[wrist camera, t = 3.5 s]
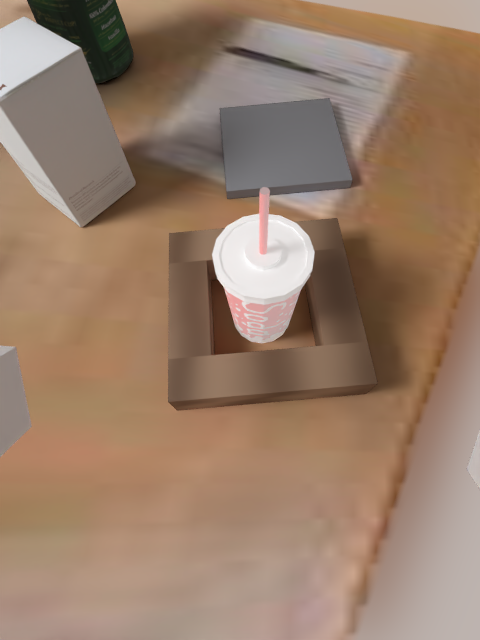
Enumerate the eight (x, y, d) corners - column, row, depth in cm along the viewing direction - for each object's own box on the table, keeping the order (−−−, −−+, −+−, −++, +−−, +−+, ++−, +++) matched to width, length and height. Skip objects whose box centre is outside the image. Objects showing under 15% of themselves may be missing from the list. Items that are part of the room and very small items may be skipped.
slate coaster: (227, 198, 35) (226, 191, 34) (220, 116, 40) (219, 108, 39) (349, 187, 35) (352, 179, 34) (327, 106, 40) (329, 98, 39)
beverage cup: (212, 336, 29) (177, 221, 16) (241, 276, 31) (230, 133, 19) (284, 363, 28) (307, 261, 15) (308, 298, 30) (346, 162, 17)
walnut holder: (177, 410, 27) (168, 401, 24) (176, 254, 33) (169, 233, 30) (365, 393, 27) (377, 383, 24) (330, 240, 32) (337, 218, 30)
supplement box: (139, 184, 36) (84, 46, 25) (81, 230, 34) (-8, 102, 23) (93, 152, 39) (24, 12, 27) (36, 193, 36) (-65, 59, 25)
